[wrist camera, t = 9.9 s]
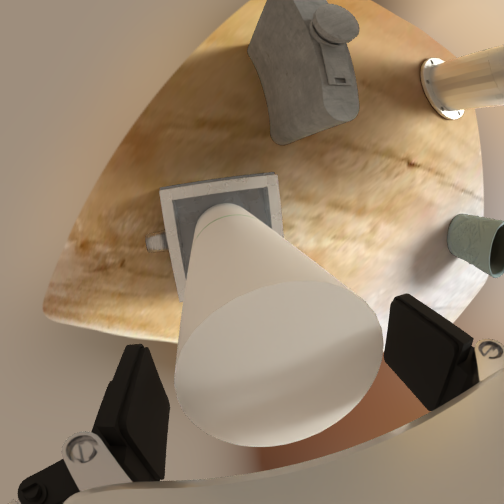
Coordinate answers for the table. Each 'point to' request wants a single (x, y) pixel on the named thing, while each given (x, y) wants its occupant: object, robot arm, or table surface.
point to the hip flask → (305, 66)
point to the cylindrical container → (268, 336)
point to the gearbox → (202, 198)
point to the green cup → (478, 242)
